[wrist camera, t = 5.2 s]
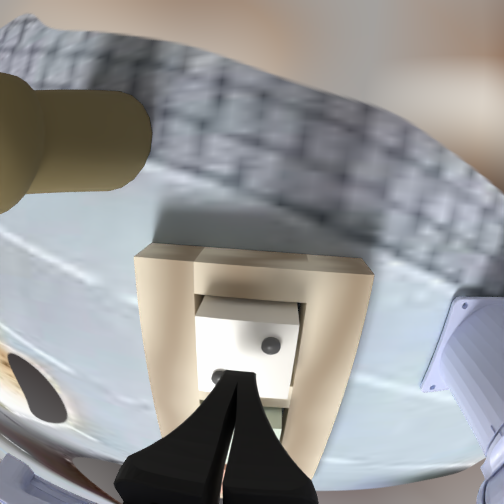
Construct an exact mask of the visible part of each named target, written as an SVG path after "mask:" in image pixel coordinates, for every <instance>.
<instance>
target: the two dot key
mask: <svg viewBox="0 0 504 504" xmlns="http://www.w3.org/2000/svg"><path fill="white" fill-rule="evenodd" d="M195 330H196V352H197V370H198V386H199V391H206V392H211V391H212V390H213V388H214V387H215V385H216V384H217V382H218V381H219V379H220V377H221V375H222V374H223V371H225V370H236V371H247V372H254V373H255V374H256V381H257V388H258V392H259V396H260V397H263V398H277V399H288V393H289V387H290V382H291V376H292V370H293V364H294V358H295V352H296V345H297V339H298V332H299V316H298V307H297V302H285V301H271V300H258V299H246V298H234V297H223V296H213V295H205V297H204V299H203V301H202V303H201V305H200V307H199V309H198V311H197V313H196V315H195Z"/></svg>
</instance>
